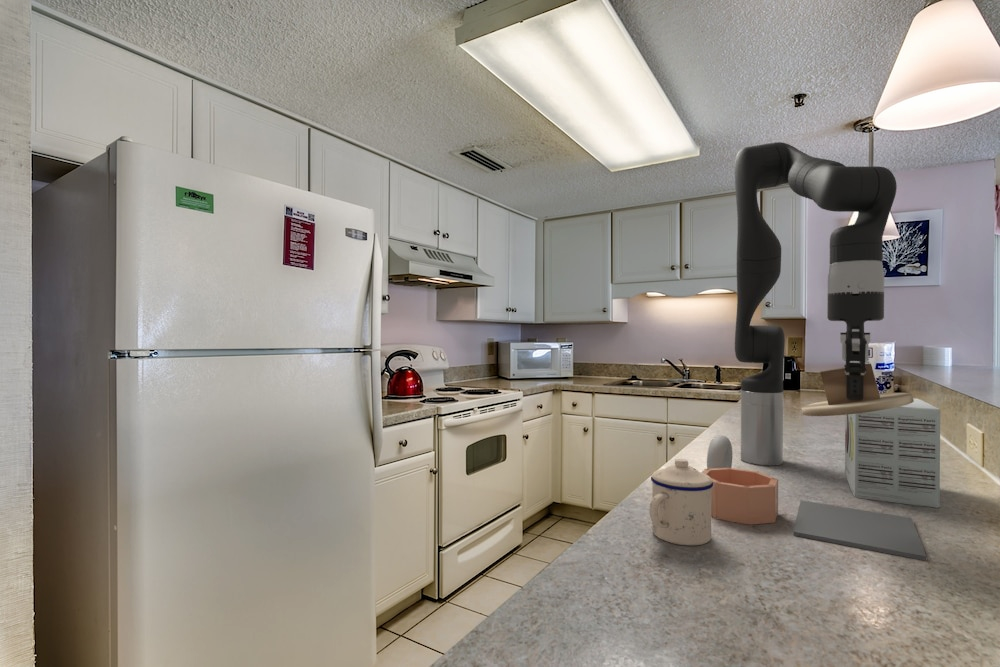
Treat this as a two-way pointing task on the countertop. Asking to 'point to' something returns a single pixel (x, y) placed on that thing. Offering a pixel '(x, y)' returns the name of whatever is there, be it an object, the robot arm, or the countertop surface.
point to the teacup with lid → (681, 504)
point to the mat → (859, 529)
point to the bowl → (743, 496)
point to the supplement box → (895, 454)
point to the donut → (719, 453)
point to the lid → (841, 405)
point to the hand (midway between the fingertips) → (854, 398)
